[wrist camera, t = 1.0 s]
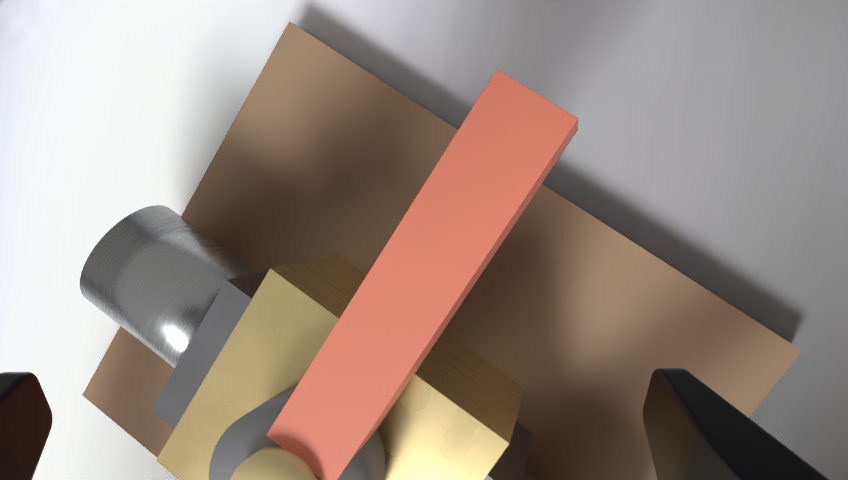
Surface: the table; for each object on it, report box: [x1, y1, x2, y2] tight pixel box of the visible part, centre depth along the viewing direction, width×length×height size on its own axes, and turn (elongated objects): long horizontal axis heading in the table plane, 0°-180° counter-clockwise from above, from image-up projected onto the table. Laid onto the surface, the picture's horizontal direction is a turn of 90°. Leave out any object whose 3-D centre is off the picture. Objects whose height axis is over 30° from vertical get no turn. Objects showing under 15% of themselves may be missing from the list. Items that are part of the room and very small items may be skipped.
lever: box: [209, 69, 578, 480], centre depth 15 cm, size 13×4×3 cm, turn 147°
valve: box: [80, 205, 537, 480], centre depth 20 cm, size 19×7×5 cm, turn 57°
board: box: [83, 21, 802, 480], centre depth 22 cm, size 20×17×1 cm
